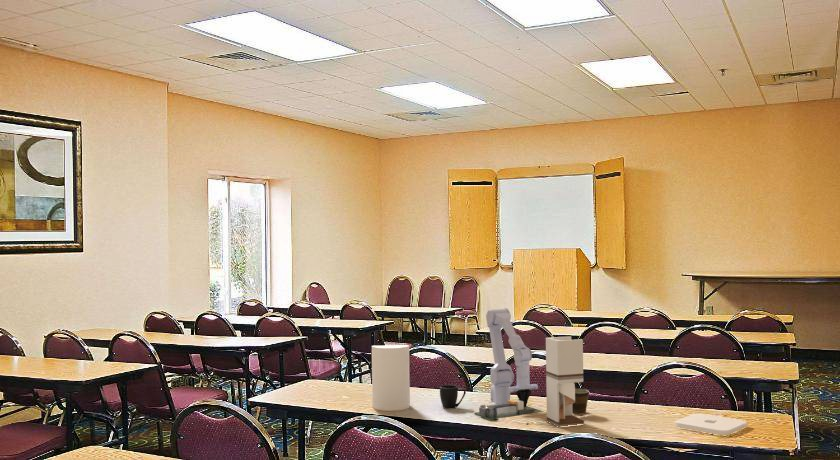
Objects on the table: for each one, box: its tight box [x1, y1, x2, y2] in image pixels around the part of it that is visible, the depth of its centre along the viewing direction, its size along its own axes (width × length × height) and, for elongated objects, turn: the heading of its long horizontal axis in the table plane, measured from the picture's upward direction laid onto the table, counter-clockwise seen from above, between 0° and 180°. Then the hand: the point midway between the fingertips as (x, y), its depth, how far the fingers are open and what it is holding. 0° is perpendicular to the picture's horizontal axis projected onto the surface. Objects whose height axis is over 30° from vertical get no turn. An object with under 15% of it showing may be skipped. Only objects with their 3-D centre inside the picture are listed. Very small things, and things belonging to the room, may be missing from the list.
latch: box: [507, 398, 524, 412], centre depth 327 cm, size 5×5×5 cm
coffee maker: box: [545, 336, 585, 428], centre depth 307 cm, size 11×11×35 cm
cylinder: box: [371, 344, 411, 412], centre depth 343 cm, size 17×17×28 cm
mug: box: [439, 384, 467, 410], centre depth 339 cm, size 8×12×10 cm
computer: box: [674, 412, 748, 435], centre depth 298 cm, size 22×22×3 cm
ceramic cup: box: [572, 388, 590, 415], centre depth 323 cm, size 13×10×10 cm
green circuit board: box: [473, 403, 544, 422], centre depth 325 cm, size 14×28×4 cm, turn 118°
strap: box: [483, 404, 516, 410], centre depth 323 cm, size 4×15×1 cm, turn 118°
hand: (523, 406), depth 329 cm, fingers closed
